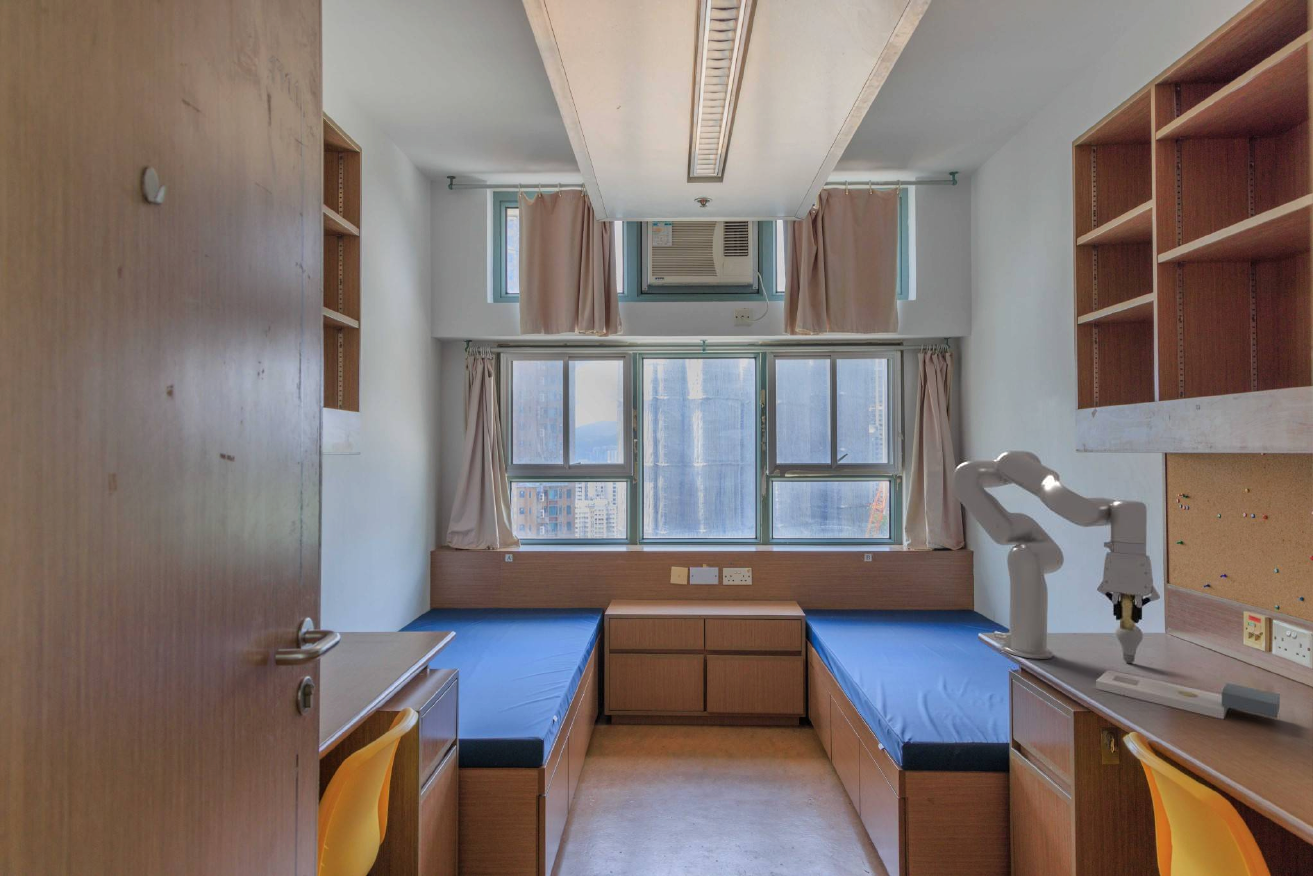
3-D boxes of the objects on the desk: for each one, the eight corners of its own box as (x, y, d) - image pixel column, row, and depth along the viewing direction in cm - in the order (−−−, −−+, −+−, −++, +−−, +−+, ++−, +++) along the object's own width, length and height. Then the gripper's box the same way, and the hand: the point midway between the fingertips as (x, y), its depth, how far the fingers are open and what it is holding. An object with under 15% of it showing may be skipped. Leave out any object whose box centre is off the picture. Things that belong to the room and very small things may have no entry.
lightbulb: (1116, 664, 184) (1117, 624, 184) (1113, 658, 189) (1114, 619, 189) (1144, 668, 181) (1144, 627, 181) (1140, 662, 186) (1140, 622, 187)
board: (1095, 688, 164) (1096, 680, 164) (1107, 677, 173) (1107, 669, 173) (1223, 719, 147) (1223, 709, 147) (1229, 705, 156) (1229, 696, 156)
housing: (1221, 705, 149) (1221, 692, 149) (1226, 695, 155) (1226, 682, 155) (1276, 718, 142) (1277, 704, 142) (1279, 707, 148) (1279, 694, 148)
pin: (1118, 628, 171) (1119, 593, 171) (1121, 626, 174) (1121, 591, 174) (1133, 631, 169) (1134, 595, 169) (1136, 629, 171) (1136, 593, 172)
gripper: (1087, 546, 175) (1086, 617, 174) (1166, 554, 163) (1165, 629, 163) (1093, 544, 180) (1093, 612, 180) (1170, 551, 169) (1169, 624, 168)
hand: (1127, 620), depth 171 cm, fingers closed on pin, 3 cm apart
